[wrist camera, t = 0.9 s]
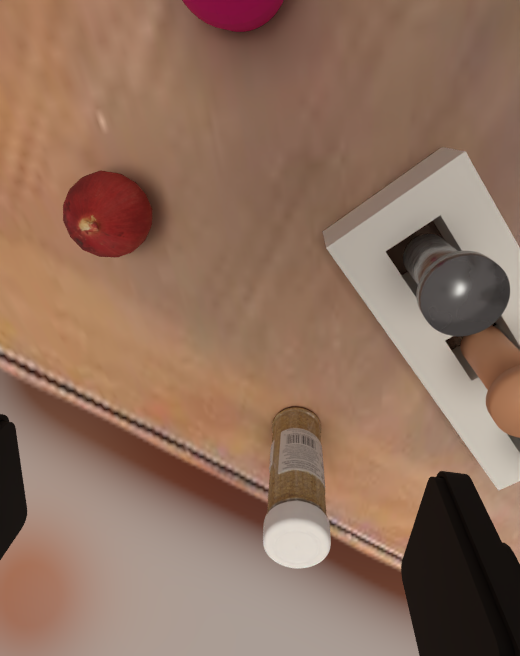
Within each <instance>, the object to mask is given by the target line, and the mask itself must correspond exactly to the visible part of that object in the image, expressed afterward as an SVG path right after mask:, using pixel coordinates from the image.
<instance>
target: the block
mask: <svg viewBox="0 0 520 656" xmlns="http://www.w3.org/2000/svg"><path fill="white" fill-rule="evenodd" d="M432 220H433V222H434V224H435V225H436V227H437V228H438V230H439V232H440V233H441V235H442V237H443V238H444V240H445V241H446V242H447V243H449V244H450V245H451V246H452V247H454V248H455V249H456V250H457V251H474V252H478V253H481V254H483V255H485V256H487V257H489V258H490V259H491V260H493V261H494V262H495V263H497V264H498V265H499V266H500V267H501V268H502V269H503V270H504V271H505V273H506V275H507V277H508V279H509V283H510V297H509V301H508V304H507V307H506V309H505V310H504V312H503V314H502V315H501V316H500V317H499V319H498V320H497V321H496V322H495V323H496V324H497V325H495V326H494V327H496V328H498V329H499V330H500V331H501V332H502V333H503V334H504V335H505V336H506V337H507V338H508V339H509V340H510V341H511V342H512V343H513V345H514V346H515V347H516V348H517V349H518V350H519V351H520V247H519V246H518V244H517V242H516V240H515V239H514V237H513V235H512V233H511V231H510V230H509V228H508V226H507V224H506V223H505V221H504V219H503V217H502V215H501V214H500V212H499V210H498V208H497V207H496V205H495V203H494V201H493V199H492V198H491V196H490V194H489V192H488V191H487V189H486V187H485V185H484V183H483V182H482V180H481V178H480V176H479V175H478V173H477V171H476V169H475V167H474V166H473V164H472V162H471V160H470V158H469V157H468V155H467V153H466V151H462V150H456V149H451V148H446V147H441V148H440V149H438V150H437V151H435V152H434V153H433V154H431V155H430V156H428V157H427V158H426V159H424V160H423V161H421V162H420V163H418V164H417V165H416V166H414V167H413V168H411V169H410V170H409V171H407V172H406V173H404V174H403V175H402V176H400V177H399V178H397V179H396V180H395V181H393V182H392V183H390V184H389V185H387V186H386V187H385V188H383V189H382V190H380V191H379V192H378V193H376V194H375V195H373V196H372V197H371V198H369V199H368V200H366V201H365V202H364V203H362V204H361V205H359V206H358V207H356V208H355V209H354V210H352V211H351V212H349V213H348V214H347V215H345V216H344V217H342V218H341V219H340V220H338V221H337V222H335V223H334V224H333V225H331V226H330V227H328V228H327V229H325V230H324V231H323V236H324V241H325V245H326V249H327V250H328V251H329V253H330V254H331V256H332V257H333V258H334V260H335V261H336V263H337V264H338V265H339V267H340V268H341V270H342V271H343V272H344V274H345V275H346V277H347V278H348V279H349V281H350V282H351V284H352V285H353V286H354V288H355V289H356V291H357V292H358V294H359V295H360V296H361V298H362V299H363V301H364V302H365V303H366V305H367V306H368V308H369V309H370V310H371V312H372V313H373V315H374V316H375V317H376V319H377V320H378V322H379V323H380V324H381V326H382V327H383V329H384V330H385V331H386V333H387V334H388V336H389V337H390V339H391V340H392V341H393V343H394V344H395V346H396V347H397V348H398V350H399V351H400V353H401V354H402V355H403V357H404V358H405V360H406V361H407V362H408V364H409V365H410V367H411V368H412V369H413V371H414V372H415V374H416V375H417V376H418V378H419V379H420V381H421V382H422V384H423V385H424V386H425V388H426V389H427V391H428V392H429V393H430V395H431V396H432V398H433V399H434V400H435V402H436V403H437V405H438V406H439V407H440V409H441V410H442V412H443V413H444V414H445V416H446V417H447V419H448V420H449V421H450V423H451V424H452V426H453V427H454V429H455V430H456V431H457V433H458V434H459V436H460V437H461V438H462V440H463V441H464V443H465V444H466V445H467V447H468V448H469V450H470V451H471V452H472V454H473V455H474V457H475V458H476V459H477V461H478V462H479V464H480V465H481V466H482V468H483V469H484V471H485V472H486V474H487V475H488V476H489V478H490V479H491V481H492V482H493V483H494V485H495V486H496V488H497V489H498V490H501V489H503V488H505V487H508V486H510V485H512V484H514V483H516V482H519V481H520V440H519V439H518V437H514V436H511V435H509V434H507V433H505V432H503V431H502V430H501V429H500V428H499V427H498V426H497V425H496V423H495V422H494V420H493V419H492V417H491V416H490V414H489V412H488V410H487V407H486V394H487V391H488V390H487V388H486V387H485V386H484V384H483V383H482V381H481V380H480V378H479V377H478V376H477V374H476V373H475V371H474V370H473V368H472V367H471V366H470V364H469V363H468V361H467V360H466V358H465V357H464V356H463V354H462V352H461V349H460V346H458V347H456V348H454V349H453V350H451V349H450V348H449V346H448V345H447V343H446V342H445V340H447V339H449V338H451V337H452V336H450V335H446V334H443V333H441V332H439V331H437V330H436V329H434V328H433V327H432V326H431V325H430V324H429V323H428V322H427V321H426V319H425V318H424V316H423V314H422V313H421V311H420V309H419V307H418V304H417V297H416V293H417V287H418V284H417V283H416V282H415V280H414V279H413V278H412V276H411V275H410V273H409V272H406V273H405V274H403V275H402V276H401V274H400V273H399V271H398V270H397V268H396V267H395V265H394V264H393V262H392V261H391V259H390V258H389V256H388V255H387V253H386V251H387V250H389V249H390V248H392V247H393V246H395V245H396V244H398V243H399V242H401V241H402V240H404V239H405V238H407V237H408V236H410V235H411V234H413V233H414V232H416V231H417V230H419V229H420V228H422V227H423V226H425V225H426V224H428V223H429V222H431V221H432Z"/></svg>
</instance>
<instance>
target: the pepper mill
mask: <svg viewBox="0 0 520 656" xmlns="http://www.w3.org/2000/svg"><path fill="white" fill-rule="evenodd" d="M182 1H183V2H184V4H185V5H186V6H187V7H188V8H189V10H190V11H191V12H192V13H193V14H195V15H196V16H197V17H198V18H199V19H201V20H202V21H204V22H206V23H207V24H209V25H212V26H214V27H217V28H221V29H226V30H230V31H235V32H245V31H251V30H253V29H256V28H258V27H260V26H262V25H264V24H265V23H267V22H268V21H269V20H270V19H271V18H272V17H273V16H274V15H275V14H276V13H277V11H278V10H279V8H280V7H281V5H282V3H283V1H284V0H182Z"/></svg>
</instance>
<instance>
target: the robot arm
mask: <svg viewBox="0 0 520 656" xmlns="http://www.w3.org/2000/svg"><path fill="white" fill-rule="evenodd" d="M26 516H27V505H26V499H25V491H24V484H23V478H22V470H21V464H20V457H19V449H18V442H17V436H16V429H15V425H14V424H13V423H12V422H9V419H8V417H7V416H6V415H2V414H0V560H1V558H2V557H3V555H4V554H5V552H6V551H7V549H8V548H9V546H10V545H11V543H12V542H13V540H14V539H15V538H16V536H17V535H18V533H19V531H20V530H21V528H22V527H23V525H24V523H25V520H26ZM401 573H402V581H403V585H404V589H405V594H406V598H407V602H408V607H409V611H410V616H411V620H412V624H413V628H414V633H415V637H416V642H417V646H418V651H419V655H420V656H520V564H519V562H518V560H517V558H516V556H515V554H514V553H513V551H512V550H511V548H510V547H509V546H508V545H507V544H505V543H502V542H501V540H500V537H499V535H498V533H497V531H496V529H495V527H494V525H493V523H492V521H491V519H490V517H489V515H488V513H487V511H486V509H485V507H484V504H483V502H482V500H481V498H480V496H479V494H478V492H477V490H476V488H475V486H474V484H473V482H472V480H471V478H470V477H469V476H468V475H467V474H461V473H453V472H445V471H440V472H439V473H438V474H437V477H430V478H429V480H428V482H427V486H426V489H425V492H424V495H423V498H422V501H421V504H420V507H419V510H418V513H417V517H416V520H415V523H414V526H413V529H412V532H411V535H410V538H409V541H408V544H407V548H406V551H405V554H404V557H403V560H402V566H401Z"/></svg>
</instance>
